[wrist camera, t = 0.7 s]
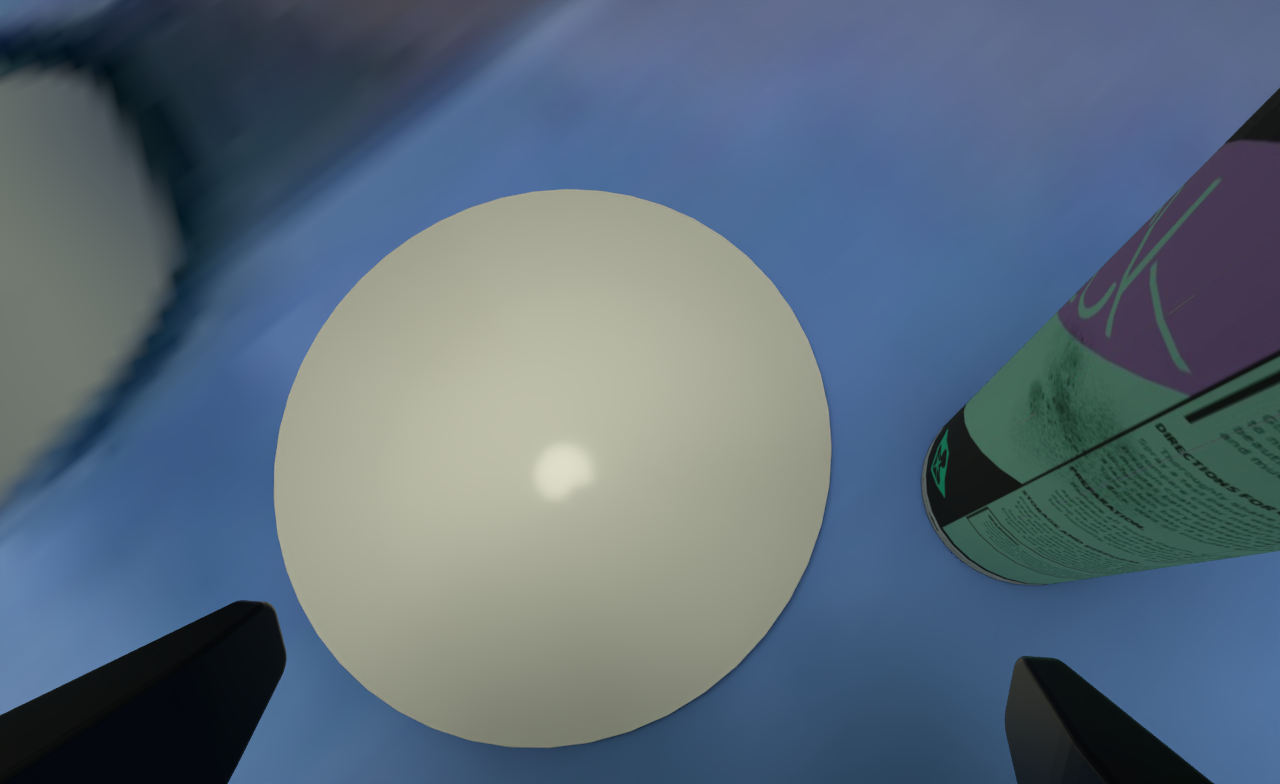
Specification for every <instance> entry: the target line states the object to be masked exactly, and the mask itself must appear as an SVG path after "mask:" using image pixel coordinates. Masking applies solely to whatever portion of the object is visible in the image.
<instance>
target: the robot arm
mask: <svg viewBox="0 0 1280 784" xmlns="http://www.w3.org/2000/svg"><path fill="white" fill-rule="evenodd" d="M285 665H286V649H285V645H284V641H283V637H282V634H281V630H280V626H279V622H278V618H277V614H276V611H275V609H274V607H273V606H272V605H271V604H270V603H267V602H261V601H247V600H241V601H236V602H234V603H231V604H229V605H227V606H225V607H223V608H221V609H219V610H217V611H215V612H213V613H211V614H209V615H207V616H205V617H203V618H200V619H198V620H196V621H194V622H192V623H190V624H188V625H186V626H184V627H182V628H180V629H178V630H176V631H174V632H172V633H169V634H167V635H165V636H163V637H161V638H159V639H157V640H155V641H153V642H151V643H149V644H147V645H145V646H143V647H141V648H138V649H136V650H134V651H132V652H130V653H128V654H126V655H124V656H122V657H120V658H118V659H116V660H114V661H112V662H110V663H107V664H105V665H103V666H101V667H99V668H97V669H95V670H93V671H91V672H89V673H87V674H85V675H83V676H81V677H79V678H76V679H74V680H72V681H70V682H68V683H66V684H64V685H62V686H60V687H58V688H56V689H54V690H52V691H50V692H48V693H45V694H43V695H41V696H39V697H37V698H35V699H33V700H31V701H29V702H27V703H25V704H23V705H21V706H19V707H17V708H14V709H12V710H10V711H8V712H6V713H4V714H2V715H0V784H228V782H229V780H230V778H231V776H232V774H233V772H234V771H235V769H236V767H237V765H238V763H239V761H240V759H241V757H242V755H243V753H244V751H245V749H246V747H247V745H248V743H249V741H250V739H251V737H252V735H253V733H254V731H255V729H256V727H257V725H258V723H259V721H260V719H261V717H262V715H263V713H264V711H265V709H266V707H267V705H268V703H269V701H270V699H271V697H272V695H273V692H274V690H275V688H276V686H277V684H278V682H279V680H280V678H281V676H282V674H283V672H284V669H285ZM1005 729H1006V736H1007V740H1008V744H1009V749H1010V753H1011V757H1012V762H1013V766H1014V770H1015V775H1016V779H1017V783H1018V784H1214V783H1212V782H1211V781H1210V780H1209V779H1208V778H1206V777H1205V776H1204V775H1203V774H1201V773H1200V772H1199V771H1198V770H1196V769H1195V768H1194V767H1193V766H1191V765H1190V764H1189V763H1188V762H1186V761H1185V760H1184V759H1183V758H1181V757H1180V756H1179V755H1178V754H1176V753H1175V752H1174V751H1173V750H1171V749H1170V748H1169V747H1168V746H1167V745H1165V744H1164V743H1163V742H1162V741H1160V740H1159V739H1158V738H1157V737H1155V736H1154V735H1153V734H1152V733H1150V732H1149V731H1148V730H1147V729H1145V728H1144V727H1143V726H1142V725H1140V724H1139V723H1138V722H1137V721H1135V720H1134V719H1133V718H1132V717H1130V716H1129V715H1128V714H1127V713H1126V712H1124V711H1123V710H1122V709H1121V708H1119V707H1118V706H1117V705H1116V704H1114V703H1113V702H1112V701H1111V700H1109V699H1108V698H1107V697H1106V696H1104V695H1103V694H1102V693H1101V692H1099V691H1098V690H1097V689H1096V688H1094V687H1093V686H1092V685H1091V684H1090V683H1088V682H1087V681H1086V680H1085V679H1083V678H1082V677H1081V676H1080V675H1078V674H1077V673H1076V672H1075V671H1073V670H1072V669H1071V668H1070V667H1068V666H1067V665H1066V664H1065V663H1063V662H1062V661H1060V660H1058V659H1055V658H1045V657H1031V656H1022V657H1021V658H1019V659H1018V660H1017V661H1016V663H1015V666H1014V669H1013V675H1012V680H1011V685H1010V690H1009V695H1008V700H1007V705H1006V710H1005Z"/></svg>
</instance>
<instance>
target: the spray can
mask: <svg viewBox="0 0 1280 784" xmlns="http://www.w3.org/2000/svg"><path fill="white" fill-rule="evenodd" d="M921 481H922V497H923V501H924V505H925V508H926V512H927V515H928V517H929V519H930V521H931V523H932V525H933V528H934V530H935V532H936V533H937V534H938V536H939V537H940V538H941V540H942V541H943V542H944V544H945V545H946V546H947V548H949V549H950V550H951V551H952V552H953V553H954V554H955V555H956V556H957V557H958V558H959V559H960V560H961V561H963V562H964V563H966V564H967V565H969V566H970V567H972V568H973V569H975V570H976V571H978V572H980V573H982V574H985V575H987V576H989V577H992V578H994V579H996V580H1001V581H1005V582H1009V583H1013V584H1024V585H1047V584H1054V583H1061V582H1067V581H1074V580H1081V579H1088V578H1095V577H1102V576H1109V575H1116V574H1123V573H1130V572H1136V571H1143V570H1150V569H1157V568H1164V567H1171V566H1178V565H1185V564H1192V563H1199V562H1205V561H1212V560H1219V559H1226V558H1233V557H1240V556H1247V555H1254V554H1261V553H1268V552H1274V551H1280V88H1279V89H1278V90H1277V91H1276V92H1275V93H1274V94H1273V95H1272V96H1271V97H1270V98H1269V99H1268V100H1267V101H1266V102H1265V103H1264V104H1263V105H1262V106H1261V107H1260V108H1259V109H1258V110H1257V111H1256V112H1255V113H1254V114H1253V115H1252V116H1251V117H1250V118H1249V119H1248V120H1247V121H1246V122H1245V123H1244V124H1243V125H1242V126H1241V127H1240V128H1239V129H1238V131H1237V132H1236V133H1235V134H1234V135H1233V136H1232V137H1231V138H1230V139H1229V140H1228V141H1227V142H1226V143H1225V144H1224V145H1223V146H1222V147H1221V148H1220V149H1219V150H1218V151H1217V152H1216V153H1215V154H1214V155H1213V156H1212V157H1211V158H1210V159H1209V160H1208V161H1207V162H1206V163H1205V164H1204V165H1203V166H1202V167H1201V168H1200V169H1199V170H1198V171H1197V172H1196V173H1195V174H1194V175H1193V176H1192V177H1191V178H1190V179H1189V180H1188V181H1187V182H1186V183H1185V184H1184V185H1183V186H1182V187H1181V188H1180V189H1179V190H1178V191H1177V192H1176V193H1175V194H1174V195H1173V196H1172V197H1171V198H1170V199H1169V200H1168V201H1167V202H1166V203H1165V204H1164V205H1163V206H1162V207H1161V208H1160V209H1159V210H1158V211H1157V212H1156V213H1155V214H1154V215H1153V216H1152V217H1151V218H1150V219H1149V220H1148V221H1147V222H1146V223H1145V224H1144V225H1143V226H1142V227H1141V228H1140V229H1139V230H1138V231H1137V232H1136V233H1135V234H1134V235H1133V236H1132V237H1131V238H1130V239H1129V240H1128V241H1127V242H1126V243H1125V244H1124V245H1123V246H1122V247H1121V248H1120V249H1119V250H1118V251H1117V252H1116V253H1115V254H1114V255H1113V256H1112V257H1111V258H1110V259H1109V260H1108V261H1107V262H1106V263H1105V265H1104V266H1103V267H1102V268H1101V269H1100V270H1099V271H1098V272H1097V273H1096V274H1095V275H1094V276H1093V277H1092V278H1091V279H1090V280H1089V281H1088V282H1087V283H1086V284H1085V285H1084V286H1083V287H1082V288H1081V289H1080V290H1079V291H1078V292H1077V293H1076V294H1075V295H1074V296H1073V297H1072V298H1071V299H1070V300H1069V301H1068V302H1067V303H1066V304H1065V305H1064V306H1063V307H1062V308H1061V309H1060V310H1059V311H1058V312H1057V313H1056V314H1055V315H1054V316H1053V317H1052V318H1051V319H1050V320H1049V321H1048V322H1047V323H1046V324H1045V325H1044V326H1043V327H1042V328H1041V329H1040V330H1039V331H1038V332H1037V333H1036V334H1035V335H1034V336H1033V337H1032V338H1031V339H1030V340H1029V341H1028V342H1027V343H1026V344H1025V345H1024V346H1023V347H1022V348H1021V349H1020V350H1019V351H1018V352H1017V353H1016V354H1015V355H1014V356H1013V357H1012V358H1011V359H1010V360H1009V361H1008V362H1007V363H1006V364H1005V365H1004V366H1003V367H1002V368H1001V369H1000V370H999V371H998V372H997V373H996V374H995V375H994V376H993V377H992V378H991V379H990V380H989V381H988V382H987V383H986V384H985V385H984V386H983V387H982V388H981V389H980V390H979V391H978V392H977V393H976V394H975V395H974V396H973V398H972V399H971V400H970V401H969V402H968V403H967V404H966V405H965V406H964V407H963V408H962V409H961V410H960V411H959V412H958V413H957V414H956V415H955V416H954V417H953V418H952V419H951V420H950V421H949V422H948V423H947V424H946V425H945V426H944V427H943V428H942V429H941V431H940V432H939V433H938V435H937V436H936V438H935V440H934V441H933V443H932V444H931V446H930V448H929V450H928V453H927V455H926V458H925V461H924V465H923V472H922V478H921Z"/></svg>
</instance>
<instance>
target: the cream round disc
mask: <svg viewBox="0 0 1280 784" xmlns="http://www.w3.org/2000/svg"><path fill="white" fill-rule="evenodd" d="M830 465H831V435H830V422H829V410H828V405H827V401H826V396H825V391H824V387H823V382H822V378H821V374H820V371H819V368H818V365H817V363H816V360H815V357H814V355H813V352H812V349H811V346H810V344H809V341H808V339H807V337H806V335H805V333H804V331H803V330H802V328H801V326H800V324H799V322H798V320H797V318H796V316H795V315H794V313H793V311H792V309H791V308H790V306H789V305H788V303H787V302H786V301H785V299H784V298H783V297H782V295H781V294H780V292H779V291H778V290H777V288H776V287H775V286H774V284H773V283H772V281H771V280H770V279H769V278H768V277H767V276H766V275H765V274H764V273H763V272H762V271H761V270H760V269H759V268H758V267H757V266H756V265H755V264H754V263H753V262H752V260H751V259H750V258H749V257H748V256H746V255H745V254H744V253H743V252H741V251H740V250H739V249H738V248H736V247H735V246H734V245H733V244H731V243H730V242H729V241H728V240H726V239H725V238H724V237H723V236H721V235H720V234H718V233H716V232H715V231H713V230H711V229H710V228H708V227H706V226H705V225H703V224H701V223H700V222H698V221H696V220H695V219H693V218H691V217H688V216H686V215H684V214H682V213H679V212H677V211H675V210H673V209H670V208H668V207H666V206H663V205H660V204H657V203H653V202H650V201H647V200H643V199H640V198H637V197H633V196H628V195H622V194H616V193H610V192H604V191H594V190H572V189H564V190H550V191H537V192H530V193H525V194H520V195H514V196H509V197H504V198H500V199H497V200H494V201H490V202H487V203H484V204H481V205H477V206H474V207H471V208H469V209H466V210H464V211H462V212H460V213H457V214H455V215H453V216H450V217H448V218H446V219H444V220H441V221H439V222H438V223H436V224H434V225H432V226H431V227H429V228H427V229H425V230H424V231H422V232H420V233H419V234H417V235H415V236H413V237H412V238H410V239H409V240H407V241H406V242H405V243H403V244H402V245H401V246H399V247H398V248H397V249H395V250H394V251H392V252H391V253H390V254H388V255H387V256H386V257H384V258H383V259H382V260H381V261H380V262H379V263H378V264H377V265H376V266H375V267H373V268H372V269H371V270H370V271H369V272H368V273H367V274H366V275H365V276H364V277H363V278H361V279H360V280H359V281H358V283H357V284H356V285H355V286H354V287H353V288H352V289H351V291H350V292H349V293H348V294H347V295H346V296H345V297H344V299H343V300H342V301H341V302H340V303H339V304H338V305H337V307H336V308H335V310H334V311H333V313H332V314H331V316H330V317H329V318H328V320H327V321H326V323H325V324H324V326H323V327H322V328H321V330H320V331H319V333H318V334H317V336H316V338H315V340H314V342H313V344H312V345H311V347H310V349H309V351H308V353H307V355H306V357H305V358H304V360H303V362H302V364H301V367H300V369H299V372H298V374H297V376H296V379H295V381H294V384H293V386H292V389H291V391H290V394H289V397H288V400H287V404H286V408H285V412H284V415H283V419H282V423H281V426H280V431H279V437H278V444H277V451H276V458H275V471H274V504H275V514H276V523H277V532H278V537H279V542H280V546H281V550H282V554H283V558H284V562H285V566H286V570H287V572H288V575H289V577H290V580H291V582H292V585H293V588H294V590H295V593H296V595H297V598H298V600H299V603H300V604H301V606H302V608H303V610H304V611H305V613H306V615H307V617H308V619H309V620H310V622H311V624H312V626H313V627H314V629H315V631H316V633H317V634H318V636H319V637H320V638H321V639H322V641H323V642H324V643H325V645H326V646H327V647H328V649H329V650H330V651H331V652H332V654H333V655H334V656H335V658H336V659H337V660H338V661H339V663H340V664H341V665H342V666H343V667H344V668H345V669H346V670H347V671H349V672H350V673H351V674H352V675H353V676H354V677H355V678H356V679H357V680H358V681H359V682H360V683H361V684H362V685H363V686H364V687H365V688H366V689H367V690H369V691H370V692H372V693H373V694H375V695H376V696H377V697H379V698H380V699H382V700H383V701H384V702H386V703H387V704H389V705H390V706H391V707H393V708H394V709H396V710H397V711H399V712H401V713H403V714H405V715H407V716H409V717H411V718H413V719H415V720H417V721H419V722H421V723H423V724H425V725H427V726H429V727H431V728H433V729H436V730H439V731H442V732H445V733H448V734H451V735H454V736H457V737H460V738H464V739H467V740H470V741H476V742H482V743H488V744H494V745H500V746H506V747H534V748H552V747H559V746H567V745H575V744H583V743H590V742H594V741H598V740H601V739H605V738H608V737H612V736H616V735H619V734H623V733H626V732H630V731H632V730H635V729H637V728H639V727H641V726H644V725H646V724H648V723H651V722H653V721H655V720H657V719H660V718H662V717H664V716H667V715H669V714H670V713H672V712H674V711H675V710H677V709H679V708H680V707H682V706H683V705H685V704H687V703H688V702H690V701H692V700H693V699H695V698H696V697H698V696H700V695H701V694H703V693H705V692H706V691H707V690H708V689H709V688H711V687H712V686H713V685H714V684H715V683H717V682H718V681H719V680H720V679H722V678H723V677H724V676H725V675H726V674H728V673H729V672H730V671H731V670H732V669H734V668H735V667H736V666H737V665H738V664H739V663H740V662H741V661H742V660H743V659H744V658H745V657H746V655H747V654H748V653H749V652H750V651H751V650H752V649H753V648H754V647H755V646H756V645H757V643H758V642H759V641H760V640H761V639H762V638H763V637H764V636H765V635H766V633H767V632H768V631H769V629H770V628H771V626H772V625H773V623H774V622H775V620H776V619H777V618H778V616H779V615H780V613H781V612H782V610H783V609H784V607H785V606H786V605H787V603H788V602H789V600H790V598H791V596H792V594H793V592H794V590H795V588H796V586H797V584H798V583H799V581H800V579H801V577H802V575H803V573H804V571H805V569H806V567H807V565H808V563H809V560H810V557H811V554H812V551H813V548H814V545H815V542H816V539H817V537H818V534H819V531H820V528H821V525H822V520H823V515H824V510H825V505H826V500H827V495H828V490H829V481H830Z"/></svg>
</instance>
